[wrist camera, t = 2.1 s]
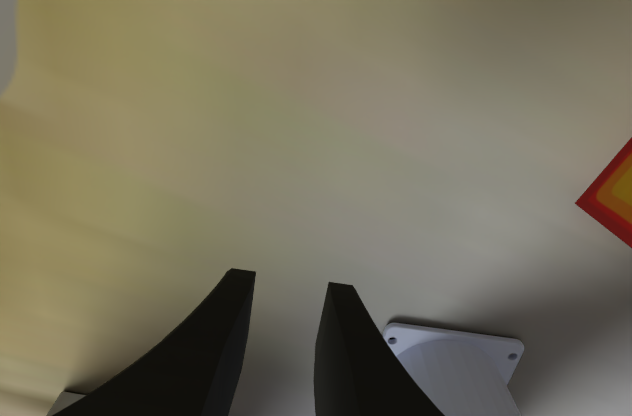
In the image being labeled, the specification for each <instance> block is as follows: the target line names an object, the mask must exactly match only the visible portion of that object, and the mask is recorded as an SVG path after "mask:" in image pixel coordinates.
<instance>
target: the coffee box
mask: <svg viewBox="0 0 632 416" xmlns="http://www.w3.org/2000/svg"><path fill="white" fill-rule="evenodd" d="M84 396H86V395H81V394H75V393H69V392H61V394H60V395H59V397H58V398H57V400H56V401H55V403H54V404H53V406H52V408H51V409H50V411H49V412H48V414H47V415H46V416H52V415H53V414H55V413H57V412H59V411H60V410H62V409H64V408H66V407H67V406H69V405H71V404H73V403H74V402H76V401H78V400H79V399H81V398H83V397H84Z"/></svg>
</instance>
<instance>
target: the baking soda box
mask: <svg viewBox="0 0 632 416" xmlns="http://www.w3.org/2000/svg"><path fill="white" fill-rule="evenodd" d="M575 204H576V205H578V206H579V207H580V208H581V209H583V210H584V211H585V212H586V213H588V214H589V215H590V216H592V217H593V218H594V219H595V220H597V221H598V222H599V223H601V224H602V225H603V226H604V227H606V228H607V229H608V230H609V231H611V232H612V233H613V234H615V235H616V236H617V237H618V238H620V239H621V240H622V241H623V242H625V243H626V244H627V245H629V246H630V247H631V248H632V138H631V139H630V140H629V141H628V142H627V144H626V145H625V146H624V147H623V148H622V149H621V150H620V152H619V153H618V154H617V155H616V156H615V157H614V159H613V160H612V161H611V162H610V163H609V164H608V166H607V167H606V168H605V169H604V170H603V171H602V173H601V174H600V175H599V176H598V177H597V178H596V179H595V181H594V182H593V183H592V184H591V185H590V186H589V188H588V189H587V190H586V191H585V192H584V193H583V195H582V196H581V197H580V198H579V199H578V200H577V202H576V203H575Z"/></svg>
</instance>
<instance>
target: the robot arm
mask: <svg viewBox="0 0 632 416" xmlns="http://www.w3.org/2000/svg"><path fill="white" fill-rule="evenodd" d="M255 276H256V272H254V271H247V270H240V269H233V268H232V269H230V270H229V271H227V272H226V274H225V275H224V277H223V278H222V279H221V281H220V282H219V283H218V284H217V286H216V287H215V288H214V289H213V290H212V291H211V293H210V294H209V295H208V296H207V297H206V298H205V299H204V300H203V301H202V302H201V303H200V304H199V306H198V307H197V308H196V309H195V310H194V311H193V312H192V313H191V314H190V315H189V316H188V317H187V318H186V319H185V320H184V321H183V322H182V323H181V324H179V325H178V326H177V327H176V328H175V329H174V330H173V331H172V332H171V333H170V334H169V335H167V336H166V337H165V338H164V339H163V340H162V341H161V342H159V343H158V344H157V345H156V346H155V347H153V348H152V349H151V350H150V351H149V352H147V353H146V354H145V355H144V356H142V357H141V358H140V359H138V360H137V361H136V362H134V363H133V364H132V365H130V366H129V367H128V368H126V369H125V370H123V371H122V372H120V373H119V374H118V375H116V376H115V377H113V378H112V379H110V380H109V381H107V382H106V383H105V384H103V385H102V386H100V387H99V388H97V389H95V390H94V391H92V392H91V393H89V394H88V395H86V396H84V397H83V398H81V399H79V400H78V401H76V402H74V403H73V404H71V405H69V406H67V407H66V408H64V409H62V410H60V411H59V412H57V413H55V414H53V415H52V416H228V413H229V410H230V406H231V403H232V400H233V396H234V393H235V390H236V386H237V383H238V380H239V376H240V373H241V369H242V364H243V359H244V353H245V348H246V343H247V338H248V331H249V323H250V315H251V308H252V300H253V292H254V284H255ZM391 337H395V338H394V339H391V340H390V339H389V338H391ZM524 349H525V348H524V345H523V343H522V342H521V341H520V340H518V339H513V338H505V337H498V336H490V335H483V334H476V333H468V332H461V331H454V330H446V329H439V328H431V327H424V326H417V325H409V324H402V323H390V324H388V325H387V326H386V327H385V329H384V333H383V336H382V335H381V333H380V331H379V330H378V328H377V327H376V325H375V323H374V322H373V320H372V318H371V317H370V315H369V313H368V311H367V310H366V308H365V306H364V304H363V303H362V301H361V299H360V297H359V295H358V293H357V291H356V290H355V288H354V287H353V285H347V284H340V283H333V282H329V284H328V288H327V293H326V298H325V302H324V307H323V312H322V316H321V321H320V326H319V330H318V335H317V340H316V346H315V363H314V396H315V413H316V416H521V414H520V412H519V410H518V408H517V406H516V404H515V402H514V400H513V398H512V396H511V394H510V392H509V390H508V387H507V385H508V383H509V381H510V379H511V377H512V375H513V372H514V370H515V368H516V366H517V364H518V362H519V360H520V358H521V356H522V354H523V352H524ZM512 353H513V354H512ZM510 354H512V355H510Z"/></svg>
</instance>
